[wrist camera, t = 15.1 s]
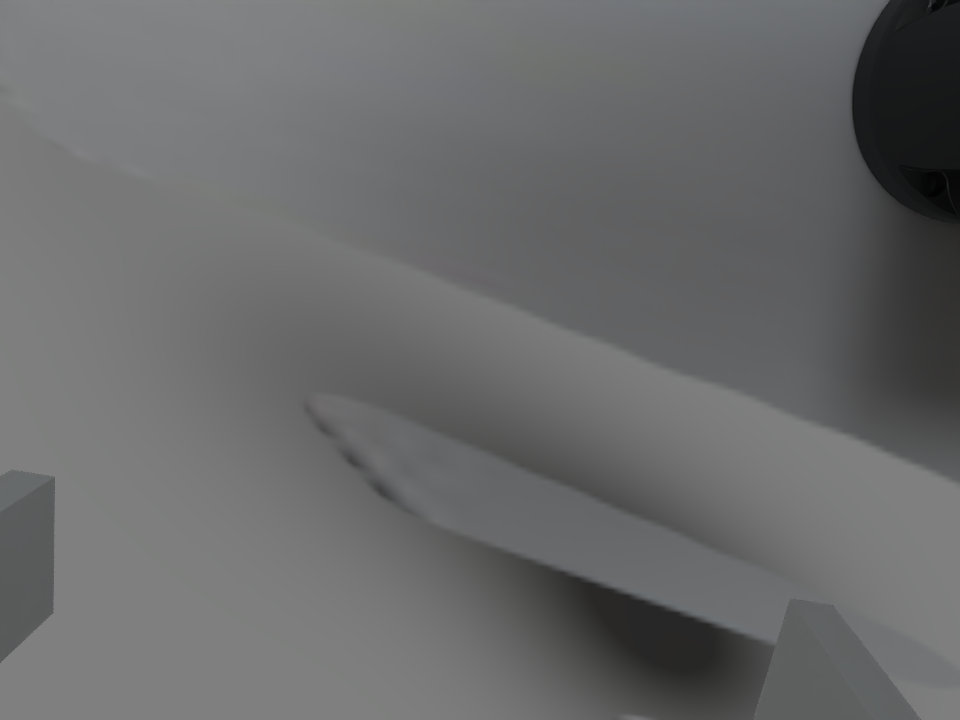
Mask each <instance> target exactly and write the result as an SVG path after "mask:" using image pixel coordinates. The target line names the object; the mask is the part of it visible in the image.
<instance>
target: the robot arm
mask: <svg viewBox="0 0 960 720" xmlns="http://www.w3.org/2000/svg"><path fill="white" fill-rule="evenodd" d="M853 112H854V122H855V129H856V134H857V138H858V142H859V145H860V148H861V151H862V153H863V156H864V158H865V160H866V162H867V164H868V166H869V168H870V169H871V171H872V173H873V174H874V176H875V177H876V178H877V180H878V181H879V182H880V183H881V185H882V186H883V187H884V188H885V189H886V190H887V191H888V192H889V193H890V194H891V195H892V196H893V197H895V198H896V199H897V200H898V201H899V202H901V203H902V204H904V205H905V206H907V207H909V208H910V209H912V210H914V211H916V212H918V213H920V214H922V215H925V216H927V217H930V218H933V219H937V220H940V221H945V222H950V223H959V224H960V0H891V1H890V2H889V3H888V5H887V6H886V8H885V9H884V10H883V12H882V13H881V15H880V17H879V18H878V20H877V21H876V23H875V25H874V27H873V29H872V31H871V33H870V35H869V37H868V39H867V41H866V44H865V46H864V49H863V52H862V54H861V58H860V61H859V65H858V69H857V73H856V79H855V85H854V96H853ZM54 491H55V477H53V476H47V475H41V474H35V473H29V472H23V471H16V470H11V471H9V472H7V473H5V474H4V475H2V476H0V663H1V661H3V660H4V659H5V658H6V657H7V656H8V655H9V654H10V653H11V652H12V651H13V650H14V649H15V648H16V647H18V645H20V644H21V643H22V642H23V641H24V640H25V639H26V638H27V637H28V636H29V635H30V634H31V633H32V632H33V631H34V630H35V629H37V628H38V627H39V626H40V625H41V624H42V623H43V622H44V621H45V620H46V619H47V618H48V617H49V616H50V615H51V614H53V593H54V586H53V585H54V501H55V500H54V499H55V495H54V494H55V492H54ZM753 720H921V719H920V718H919V716H918V715H917V714H916V712H915V711H914V710H913V708H912V707H911V706H910V705H909V703H908V702H907V701H906V699H905V698H904V697H903V695H902V694H901V693H900V692H899V690H898V689H897V688H896V686H895V685H894V684H893V682H892V681H891V680H890V679H889V677H888V676H887V675H886V673H885V672H884V671H883V670H882V668H881V667H880V666H879V664H878V663H877V662H876V660H875V659H874V658H873V657H872V655H871V654H870V653H869V651H868V650H867V649H866V647H865V646H864V645H863V644H862V642H861V641H860V640H859V638H858V637H857V636H856V634H855V633H854V632H853V631H852V629H851V628H850V627H849V625H848V624H847V623H846V622H845V620H844V619H843V618H842V616H841V615H840V614H839V612H838V611H837V610H836V609H835V607H834V606H833V605H827V604H821V603H815V602H809V601H803V600H797V599H791V598H790V601H789V605H788V608H787V611H786V614H785V618H784V621H783V624H782V627H781V631H780V634H779V637H778V640H777V644H776V647H775V650H774V654H773V657H772V660H771V663H770V667H769V670H768V673H767V676H766V680H765V683H764V686H763V689H762V693H761V696H760V699H759V703H758V706H757V709H756V712H755V715H754V719H753Z"/></svg>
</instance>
